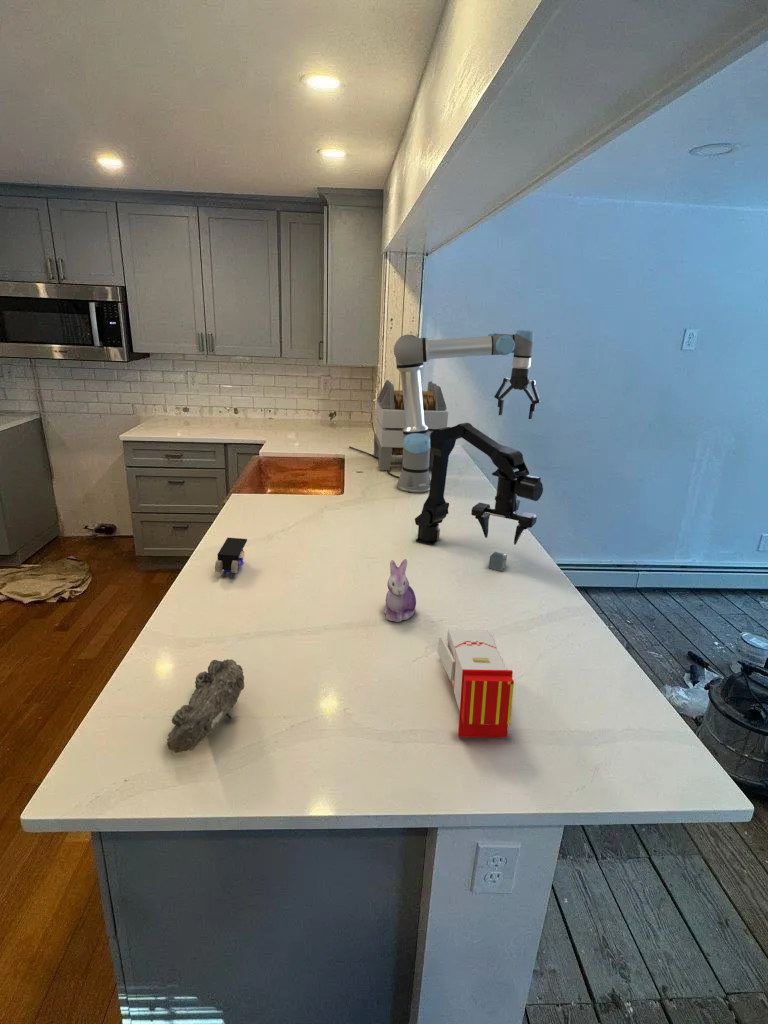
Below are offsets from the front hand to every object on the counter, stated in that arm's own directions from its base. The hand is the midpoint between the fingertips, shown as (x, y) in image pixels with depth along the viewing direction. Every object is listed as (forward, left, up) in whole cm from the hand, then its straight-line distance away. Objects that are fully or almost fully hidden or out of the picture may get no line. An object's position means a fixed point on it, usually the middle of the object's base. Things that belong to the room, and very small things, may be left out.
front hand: (500, 540), depth 174 cm
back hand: (-17, +91, +23) cm, 95 cm away
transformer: (-72, +103, -9) cm, 126 cm away
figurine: (-16, -41, -9) cm, 45 cm away
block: (0, 0, -9) cm, 9 cm away
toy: (+9, -64, -9) cm, 65 cm away
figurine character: (-70, -41, -9) cm, 81 cm away
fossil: (-33, -94, -9) cm, 100 cm away
